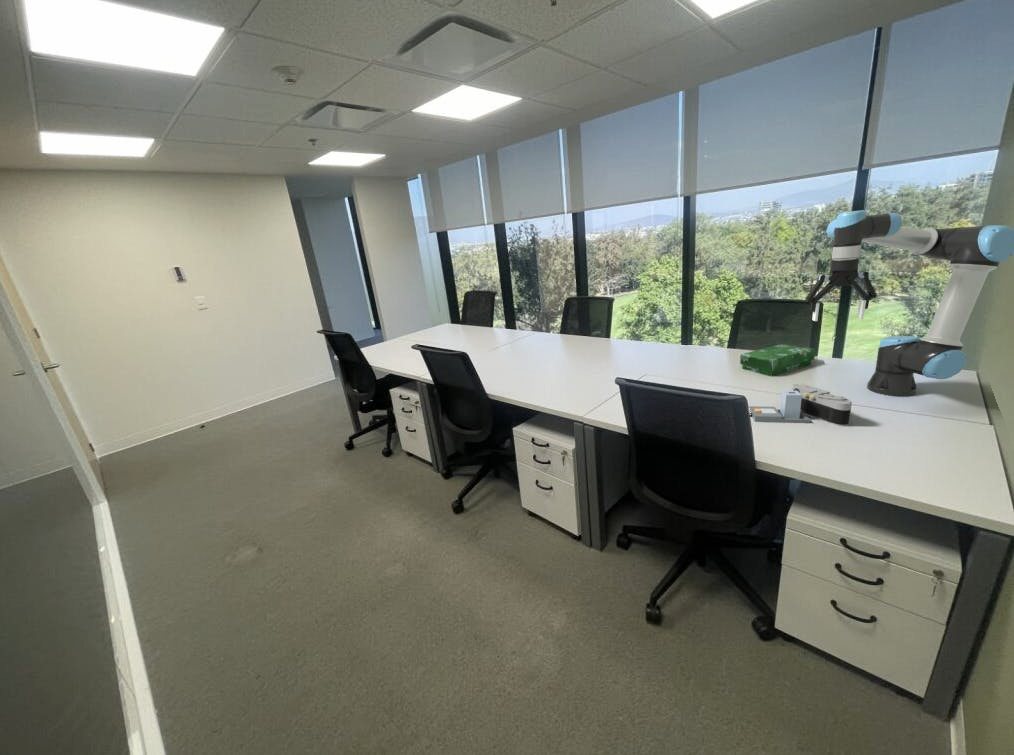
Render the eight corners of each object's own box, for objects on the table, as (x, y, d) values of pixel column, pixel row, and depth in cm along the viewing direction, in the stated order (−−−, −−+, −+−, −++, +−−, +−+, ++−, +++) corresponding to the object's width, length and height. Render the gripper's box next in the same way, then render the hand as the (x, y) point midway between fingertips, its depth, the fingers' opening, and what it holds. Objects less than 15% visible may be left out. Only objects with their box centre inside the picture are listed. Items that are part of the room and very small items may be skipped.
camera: (859, 423, 147) (863, 397, 144) (838, 428, 145) (842, 402, 142) (803, 403, 168) (806, 380, 165) (784, 408, 166) (787, 385, 163)
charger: (794, 414, 159) (797, 390, 156) (799, 419, 154) (801, 394, 151) (780, 414, 161) (782, 390, 158) (783, 419, 156) (786, 394, 153)
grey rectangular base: (800, 412, 160) (801, 405, 159) (809, 423, 151) (810, 415, 150) (740, 411, 167) (740, 404, 166) (745, 421, 158) (746, 414, 157)
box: (771, 380, 196) (773, 360, 193) (738, 371, 213) (739, 353, 210) (815, 367, 207) (817, 348, 204) (780, 360, 223) (781, 342, 220)
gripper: (884, 254, 140) (874, 315, 146) (799, 261, 148) (793, 319, 154) (896, 255, 133) (885, 319, 139) (806, 263, 141) (800, 323, 147)
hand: (837, 319), depth 146 cm, fingers open, 13 cm apart
